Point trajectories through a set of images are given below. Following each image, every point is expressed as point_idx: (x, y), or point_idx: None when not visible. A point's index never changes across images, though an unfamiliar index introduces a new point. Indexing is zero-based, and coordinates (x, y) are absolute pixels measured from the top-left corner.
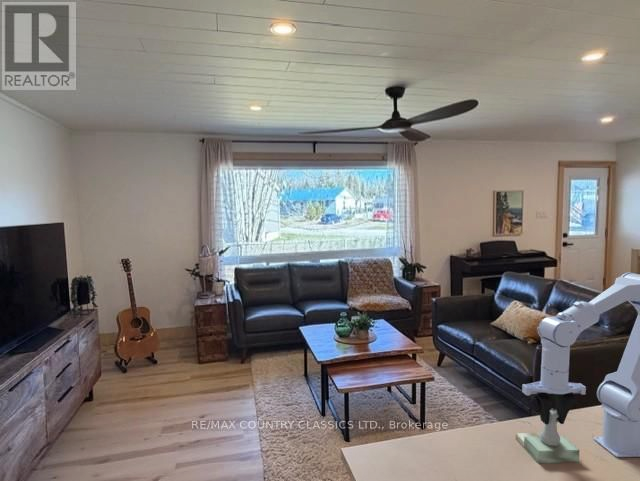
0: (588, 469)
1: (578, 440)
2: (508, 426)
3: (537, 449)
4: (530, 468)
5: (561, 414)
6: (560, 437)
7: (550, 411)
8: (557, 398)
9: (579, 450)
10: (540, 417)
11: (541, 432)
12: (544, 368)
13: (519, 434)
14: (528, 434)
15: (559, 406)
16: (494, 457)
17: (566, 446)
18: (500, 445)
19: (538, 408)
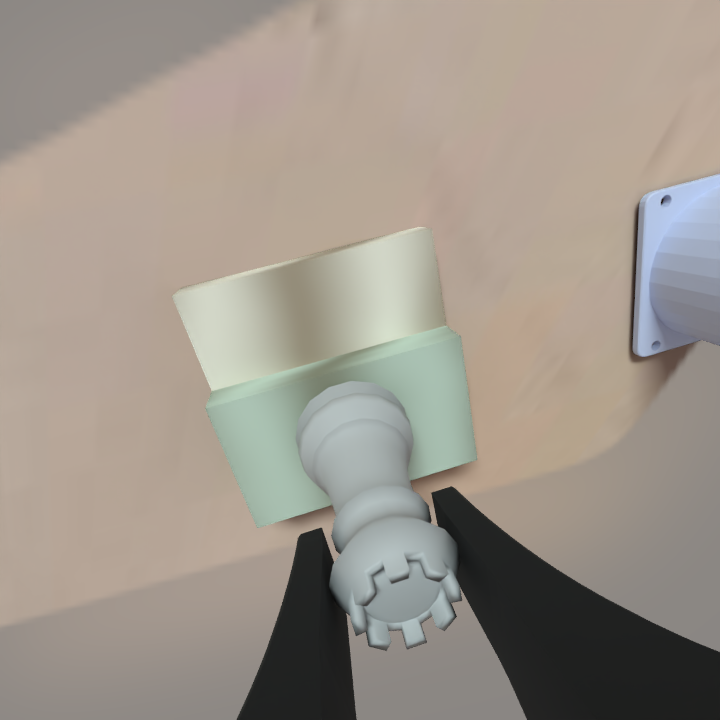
0: (464, 465)
1: (551, 225)
2: (147, 110)
3: (256, 516)
4: (217, 527)
5: (478, 610)
6: (433, 364)
7: (396, 599)
8: (559, 705)
9: (475, 457)
10: (295, 554)
11: (307, 448)
12: None
13: (195, 307)
14: (258, 293)
15: (510, 643)
16: (43, 498)
17: (424, 449)
18: (77, 382)
19: (274, 634)
